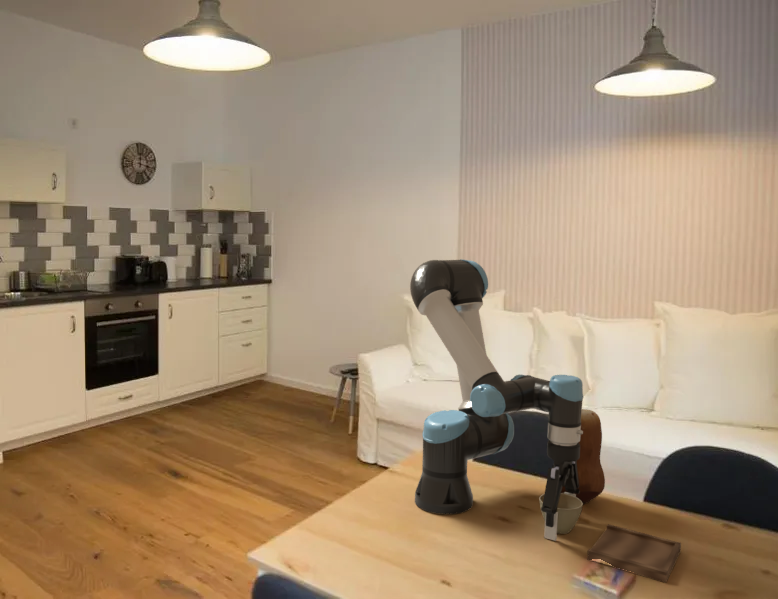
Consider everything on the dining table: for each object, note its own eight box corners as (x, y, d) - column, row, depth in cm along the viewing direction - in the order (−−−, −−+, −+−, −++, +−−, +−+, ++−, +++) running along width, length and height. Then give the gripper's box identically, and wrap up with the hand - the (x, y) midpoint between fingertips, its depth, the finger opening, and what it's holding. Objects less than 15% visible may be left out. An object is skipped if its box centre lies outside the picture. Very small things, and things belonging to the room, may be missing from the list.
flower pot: (583, 541, 149) (584, 511, 148) (538, 536, 151) (539, 506, 150) (579, 522, 159) (580, 494, 158) (537, 518, 161) (538, 490, 160)
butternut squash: (575, 487, 181) (579, 400, 179) (614, 505, 170) (619, 412, 167) (539, 497, 174) (543, 406, 171) (577, 516, 162) (581, 418, 160)
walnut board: (587, 559, 140) (587, 550, 140) (607, 532, 153) (608, 524, 153) (666, 582, 131) (666, 572, 131) (680, 551, 145) (680, 542, 144)
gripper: (562, 458, 140) (557, 553, 142) (594, 431, 161) (590, 514, 163) (529, 451, 145) (525, 543, 147) (565, 426, 165) (561, 507, 167)
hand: (559, 528), depth 155 cm, fingers open, 12 cm apart
